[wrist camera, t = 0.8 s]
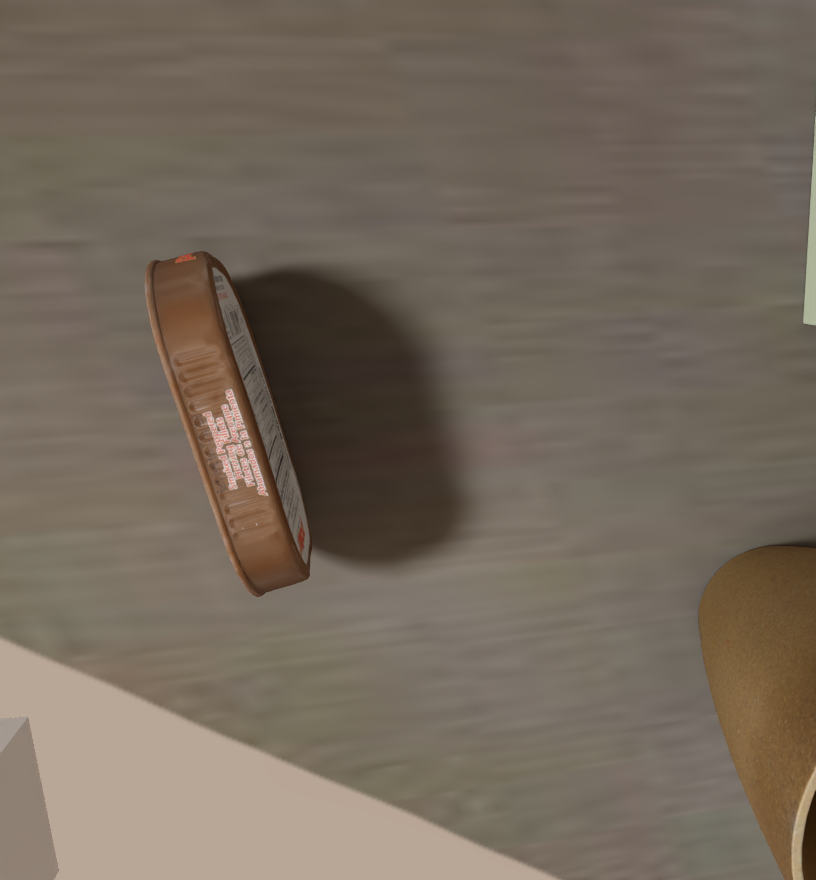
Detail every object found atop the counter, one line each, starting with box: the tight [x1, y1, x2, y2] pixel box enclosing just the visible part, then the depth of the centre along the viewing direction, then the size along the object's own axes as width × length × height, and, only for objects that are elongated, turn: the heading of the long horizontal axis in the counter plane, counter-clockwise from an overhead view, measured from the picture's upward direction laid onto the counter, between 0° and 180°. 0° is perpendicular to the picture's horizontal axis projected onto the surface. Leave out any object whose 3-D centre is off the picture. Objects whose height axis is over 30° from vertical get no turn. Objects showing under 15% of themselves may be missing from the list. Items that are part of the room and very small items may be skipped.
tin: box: [145, 251, 312, 597], centre depth 32 cm, size 15×3×8 cm, turn 15°
